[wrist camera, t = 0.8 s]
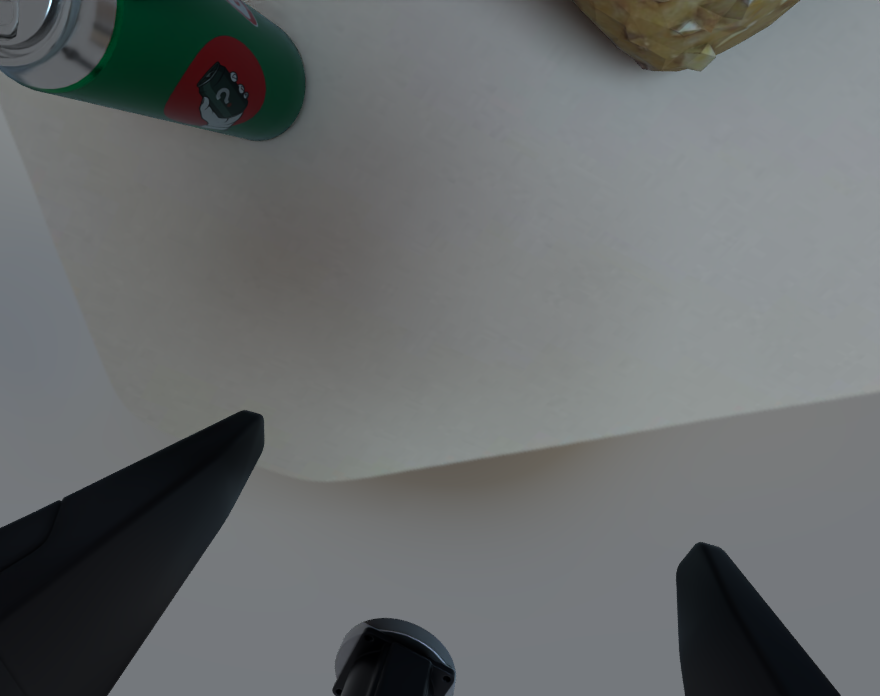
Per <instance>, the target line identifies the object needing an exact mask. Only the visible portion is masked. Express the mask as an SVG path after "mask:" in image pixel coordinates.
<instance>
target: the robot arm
mask: <svg viewBox="0 0 880 696" xmlns="http://www.w3.org/2000/svg"><path fill="white" fill-rule="evenodd" d="M263 448H264V418H263V416H262V415H260V414H258V413H254V412H251V411H247V410H243V411H240V412H237V413H235V414H233V415H231V416H229V417H227V418H225V419H223V420H221V421H219V422H217V423H215V424H213V425H211V426H209V427H207V428H205V429H203V430H201V431H199V432H197V433H195V434H193V435H191V436H189V437H187V438H185V439H182V440H180V441H178V442H176V443H174V444H172V445H170V446H168V447H166V448H164V449H162V450H160V451H158V452H156V453H154V454H152V455H150V456H148V457H146V458H144V459H142V460H140V461H138V462H136V463H134V464H132V465H130V466H128V467H126V468H123V469H121V470H119V471H117V472H115V473H113V474H111V475H109V476H107V477H105V478H103V479H101V480H99V481H97V482H95V483H93V484H91V485H89V486H87V487H85V488H83V489H81V490H79V491H77V492H75V493H73V494H70V495H68V496H66V497H64V498H63V500H62V501H60V500H59V501H56V502H54V503H52V504H50V505H48V506H46V507H44V508H42V509H40V510H38V511H36V512H33V513H31V514H29V515H27V516H25V517H23V518H21V519H18V520H16V521H14V522H12V523H10V524H8V525H6V526H4V527H1V528H0V696H107V695H108V694H109V692H110V691H111V690H112V688H113V687H114V685H115V684H116V682H117V681H118V679H119V678H120V676H121V675H122V673H123V672H124V670H125V669H126V667H127V666H128V664H129V663H130V661H131V660H132V658H133V657H134V655H135V654H136V653H137V651H138V649H139V648H140V646H141V645H142V644H143V642H144V641H145V639H146V638H147V636H148V635H149V633H150V632H151V630H152V629H153V627H154V626H155V624H156V623H157V621H158V620H159V618H160V617H161V616H162V614H163V612H164V611H165V610H166V608H167V607H168V605H169V604H170V602H171V601H172V599H173V598H174V596H175V595H176V593H177V592H178V590H179V589H180V587H181V586H182V584H183V583H184V581H185V580H186V579H187V577H188V575H189V574H190V573H191V571H192V570H193V568H194V567H195V565H196V564H197V562H198V561H199V559H200V558H201V556H202V555H203V553H204V552H205V550H206V549H207V547H208V546H209V544H210V543H211V542H212V540H213V539H214V537H215V536H216V534H217V533H218V531H219V530H220V528H221V527H222V525H223V524H224V522H225V520H226V518H227V517H228V515H229V513H230V512H231V510H232V508H233V506H234V504H235V503H236V501H237V499H238V497H239V495H240V493H241V491H242V489H243V487H244V486H245V484H246V482H247V480H248V478H249V476H250V474H251V472H252V470H253V469H254V467H255V465H256V463H257V461H258V459H259V457H260V455H261V453H262V451H263ZM676 585H677V610H678V636H679V652H680V662H681V671H682V678H683V684H684V690H685V696H841V695H840V694H839V693H838V691H837V690H836V689H835V688H834V686H833V685H832V684H831V683H830V681H829V680H828V679H827V678H826V676H825V675H824V674H823V673H822V671H821V670H820V669H819V668H818V666H817V665H816V664H815V663H814V662H813V660H812V659H811V658H810V657H809V655H808V654H807V653H806V652H805V650H804V649H803V648H802V647H801V645H800V644H799V643H798V642H797V640H796V639H795V638H794V637H793V636H792V634H791V633H790V632H789V631H788V629H787V628H786V627H785V626H784V624H783V623H782V622H781V621H780V620H779V618H778V617H777V616H776V615H775V613H774V612H773V611H772V609H771V608H770V607H769V606H768V605H767V603H766V602H765V601H764V600H763V598H762V597H761V596H760V595H759V593H758V592H757V591H756V590H755V588H754V587H753V586H752V585H751V583H750V582H749V581H748V580H747V579H746V577H745V576H744V575H743V574H742V572H741V571H740V570H739V569H738V567H737V566H736V565H735V564H734V562H733V561H732V560H731V559H730V557H729V556H728V555H727V554H726V553H725V552H724V551H723V550H722V549H721V548H719V547H717V546H714V545H710V544H707V543H703V542H699V543H697V544H695V545H694V547H693V548H692V549H691V550H690V552H689V553H688V554H687V555H686V557H685V558H684V559H683V560H682V561H681V563H680V564H679V566H678V569H677V573H676ZM454 680H455V672H454V670H453V669H451V668H450V667H448V666H446V665H444V664H442V663H440V662H438V661H436V660H434V659H432V658H430V657H428V656H427V655H425V654H423V653H421V652H419V651H417V650H415V649H413V648H411V647H409V646H407V645H405V644H403V643H401V642H399V641H398V640H396V639H394V638H392V637H390V636H388V635H386V634H384V633H382V632H380V631H378V630H376V629H374V628H372V627H367V628H365V629H364V630H363V632H362V634H361V636H360V638H359V640H358V641H357V643H356V645H355V647H354V649H353V651H352V653H351V654H350V656H349V658H348V660H347V662H346V664H345V665H344V667H343V669H342V671H341V673H340V675H339V677H338V678H337V680H336V682H335V684H334V687H333V693H334V695H336V696H445V695H446V693H447V692H448V690H449V689H450V687H451V686H452V684H453V683H454Z"/></svg>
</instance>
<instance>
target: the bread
mask: <svg viewBox="0 0 880 696" xmlns="http://www.w3.org/2000/svg"><path fill="white" fill-rule="evenodd" d="M572 1H573V2H574V3H575V4H576V5H577V6H578V7H579V8H580V9H581V10H582V11H583V12H584V13H585V15H586V16H587V17H588V18H589V19H590V20H591V21H592V22H593V23H594V24H595V25H596V26H597V27H598V28H599V29H600V30H601V31H602V32H603V33H604V34H605V35H606V36H607V37H608V38H609V39H610V40H611V41H612V42H613V43H614V44H615V45H616V47H618V48H619V49H621V50H622V51H623V52H625V53H626V54H628V55H629V56H631V57H632V58H633V59H634V60H635V61H636V62H637V63H638V64H639V65H640V66H641V68H642V69H646V70H651V71H681V70H684V69H692V70H696V71H702V70H703V69H704V68H705V67H706V66H707V65H708V64H709V63H710V62H711V61H712V60H713V59H715V58H716V55H717V54H720V53H722V52H724V51H726V50H727V49H729V48H731V47H733V46H735V45H737V44H739V43H741V42H743V41H744V40H746V39H748V38H749V37H751V36H753V35H754V34H756V33H758V32H759V31H761V30H763V29H764V28H766V27H768V26H770V25H771V24H772V23H773V22H774V21H776V20H777V19H778V18H779V17H780V16H782V15H783V14H784V13H785V12H787V11H788V10H789V9H790V8H791V7H793V6H794V5H795V4H796V3H797V2H799V1H800V0H572Z"/></svg>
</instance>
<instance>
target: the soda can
mask: <svg viewBox="0 0 880 696" xmlns="http://www.w3.org/2000/svg"><path fill="white" fill-rule="evenodd" d="M0 70H1V71H2V72H3V73H4V74H6V75H7V76H8V77H10V78H11V79H13V80H14V81H16V82H18V83H19V84H21V85H23V86H25V87H28V88H30V89H33V90H36V91H40V92H44V93H49V94H53V95H57V96H62V97H66V98H70V99H75V100H79V101H83V102H88V103H92V104H96V105H101V106H105V107H109V108H114V109H118V110H122V111H127V112H131V113H135V114H140V115H144V116H148V117H153V118H157V119H161V120H166V121H170V122H174V123H179V124H183V125H187V126H192V127H196V128H200V129H205V130H209V131H213V132H218V133H222V134H226V135H231V136H235V137H239V138H244V139H248V140H253V141H262V140H268V139H271V138H274V137H276V136H278V135H280V134H282V133H283V132H284V131H286V130H287V129H288V128H289V127H290V126H291V125H292V123H293V122H294V121H295V119H296V117H297V116H298V114H299V112H300V109H301V107H302V104H303V100H304V95H305V73H304V67H303V64H302V60H301V57H300V55H299V53H298V50H297V48H296V47H295V45H294V43H293V42H292V40H291V39H290V38H289V37H288V35H287V34H286V33H285V32H284V31H283V30H282V29H280V28H279V27H278V26H277V25H275V24H274V23H273V22H271V21H270V20H268V19H267V18H265V17H264V16H263V15H261V14H260V13H258V12H257V11H256V10H254V9H253V8H251V7H250V6H249V5H247V4H246V3H244V2H243V1H241V0H0Z"/></svg>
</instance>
